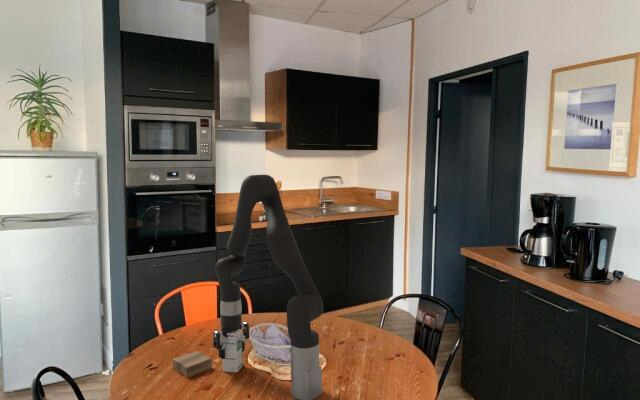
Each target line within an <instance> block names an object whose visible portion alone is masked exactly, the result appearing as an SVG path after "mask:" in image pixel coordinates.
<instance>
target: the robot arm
mask: <svg viewBox="0 0 640 400" xmlns="http://www.w3.org/2000/svg"><path fill="white" fill-rule="evenodd" d="M257 203H261V204H262V207H263V209H264V211H265V214H266V218H267V223H266V234H265V235H266V237H265V239H266V245H267V248H268V250H269V253H270V255H271V257H272V260H273V262H274V263H275V265H276V266H277V267H278V268H279V269H281V271H282V272H283V273H284V274H285V275H286V276H288V278H289V279H290V280H291V282H292V283H293V285H294V288H295V291H296V293H297V295H294V296H292V297H290V298H289V300H288V302H287V304H286V323H287V324H286V326H287V327H286V328H287V333H288V337H289V340H290V388H291V390H290V391H291V393H290V395H291V396H292V397H293V399H296V400H315V399H316V398H318V397H320V396H322V395H323V393H322V392H323V389H322V388H323V386H322V385H323V383H322V382H323V377H322V375H323V374H322V369H323V368H322V366H321V365H320V335H319V333H318V332H317V331H315V330H313V329H312V327H311V325H312V324H311V322H312V321H315V320H317V319H318V318H320V317H321V316H322V315H323V313H324V302H323V299H322V297H321V295H320V292H319V291H318V289H317V287H316V285H315V283H314V281H313V279H312V276H311V275H310V273H309V271H308V268H307V266H306V263H305V261H304V258H303V256H302V253H301V251H300V248H299V245H298V243H297V240H296V238H295V235H294V233H293V231H292V228H291V225H290V222H289V220H288V217H287V215H286V212H285V208H284V205H283V203H282V199H281V195H280V191H279V188H278V186H277V183H276V181H275V179H274V178H273V177H272V176H271V175H269V174H251V175H250V174H249V175H248V176H246V177H245V178H244V179H243V181H242V183H241V185H240V190H239V195H238V201H237V207H236V212H235V213H236V214H235V218H234V222H233V223H234V224H233V226H232V230H231V233H230V235H229V238H228V240H227V243H226V251H227V253H229V254H230V255H229V256H226V257H224V258H223V257H222V258H220V259H219V260H217V262H216V264H215V266H214V273H215V276H216V279H217V282H218V283H217V284H218V285H219V286H218V287H219V289H220V291H219V292H220V304H219V309H220V310H219V311H220V327H221V329H220V330H218V331H216V330H214V331H213V335H212V336H213V339H212V340H213V341H212V343H213V344H212V345H213V348H214V349H217V350H218V357H219V358H220V359H221V360H222V359H225V349H224V348H225V346H226V344H227V343H228V342H229V335H228V336H227V333H232V331H239V329H241V330H242V331H241V332H242V334H241V332H240V331H239V332H240V338H241V339H242V353H244V352H245V349H246V340H249V339H250V324H249V323H248V322H246V321H243V315H242V314H243V313H242V309H243V308H242V300H241V284H240V283H238V282H236V281H233V277H234V276H236V275H240V273H242V272H243V270H244V269H245V266H246V258H247V257H246V256H247V249H248V246H249V244H250V241H251V240H252V235H253V227H252V214H253V210H254V208H255V206H256V205H257ZM221 334H223V335H224V336H225V337H227V338H226V340H221ZM222 342H223V344H222Z"/></svg>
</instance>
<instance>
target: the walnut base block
mask: <svg viewBox="0 0 640 400" xmlns="http://www.w3.org/2000/svg"><path fill="white" fill-rule="evenodd" d="M212 359H213V358H212V357H210V356H208V355H206V354H204V353H202V352H201V351H199V350H195V351H192V352H188V353H186V354H182V355H181V356H178V357H174V358H172V369H173V370H175V371H176V372H178V373H179V374H181V375H182V376H184V377H185V378H190V377H193V376H195V375H198V374H200V373H203V372H205V371H207V370H210V369H212V368H213V365H212V363H213V362H212V361H213V360H212Z"/></svg>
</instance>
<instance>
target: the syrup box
mask: <svg viewBox="0 0 640 400" xmlns="http://www.w3.org/2000/svg"><path fill="white" fill-rule="evenodd" d="M239 331H240V332H241V334H242V335H243V331H242V329H239ZM239 331H232V333H227V336H228V335H229V342H228V343H227V344H226V346H225V348H224V349H225V359H221V360H222V361H221V362H222V363H221V364H222V372H227V373H238V372H239V371H240V370H241V368H243V366H244V359H243V358H244V357H243V353H244V352H242V339H241V338H240V332H239ZM220 338H221V340H226V338H227V337H225V336H224V335H223V334H221V337H220ZM222 344H223V342H222Z"/></svg>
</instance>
